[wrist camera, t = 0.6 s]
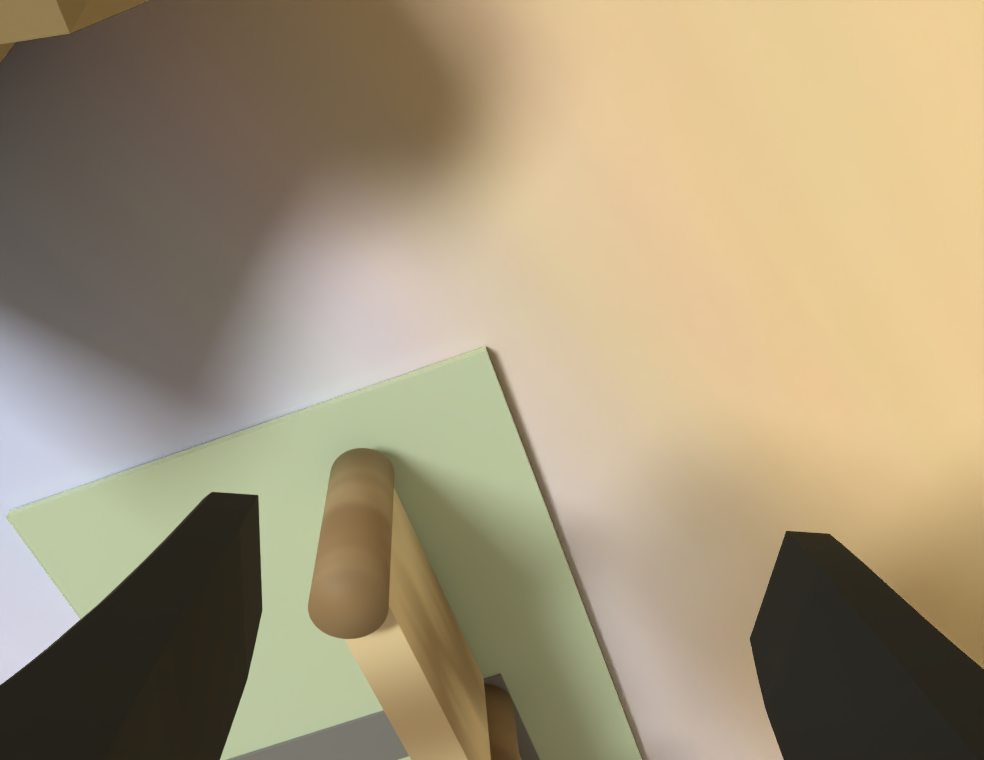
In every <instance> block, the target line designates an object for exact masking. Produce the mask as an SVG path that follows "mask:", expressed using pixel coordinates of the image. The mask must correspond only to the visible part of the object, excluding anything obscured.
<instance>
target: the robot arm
mask: <svg viewBox="0 0 984 760" xmlns="http://www.w3.org/2000/svg"><path fill="white" fill-rule="evenodd" d="M261 614H262V582H261V554H260V526H259V497H258V495H252V494H237V493H222V492H211V493H210V494H208V495H207V496H206V497H205V498H203V499H202V501H201V502H200V503H199V504H198V505H197V506H196V507H195V508H194V509H193V510H192V511H191V512H190V513H189V514H188V516H187V517H186V518H185V519H184V520H183V521H182V522H181V523H180V524H179V525H178V526H177V527H176V528H175V529H174V530H173V531H172V532H171V533H170V535H169V536H168V537H167V538H166V539H165V540H164V541H163V542H162V543H161V544H160V545H159V546H158V547H157V548H156V549H155V550H154V551H153V552H152V553H151V554H150V555H149V556H148V557H147V558H146V559H145V560H144V561H143V562H142V563H141V564H140V565H139V566H138V567H137V568H136V569H135V570H134V571H133V572H132V573H131V574H129V575H128V576H127V577H126V578H125V579H124V580H123V581H122V582H121V583H120V584H119V585H118V586H117V587H116V588H115V589H114V590H113V591H112V592H111V593H110V594H109V595H108V596H107V597H105V598H104V599H103V600H102V601H101V602H100V603H99V604H98V605H97V606H96V607H94V608H93V609H92V610H91V611H90V612H89V613H88V614H86V615H85V616H84V617H83V618H82V619H81V620H79V621H78V622H77V623H76V624H75V625H74V626H73V627H71V628H70V629H69V630H68V631H67V632H66V633H65V634H63V635H62V636H61V637H60V638H59V639H58V640H57V641H55V642H54V643H53V644H52V645H51V646H49V647H48V648H47V649H46V650H45V651H43V652H42V653H41V654H40V655H38V656H37V657H36V658H35V659H33V660H32V661H31V662H30V663H29V664H27V665H26V666H25V667H23V668H22V669H21V670H20V671H18V672H17V673H16V674H14V675H13V676H12V677H11V678H9V679H8V680H7V681H5V682H4V683H3V684H1V685H0V760H220V758H221V755H222V752H223V749H224V747H225V744H226V741H227V738H228V735H229V732H230V729H231V726H232V723H233V720H234V718H235V715H236V712H237V709H238V706H239V703H240V700H241V697H242V694H243V691H244V688H245V685H246V682H247V679H248V674H249V670H250V665H251V661H252V657H253V652H254V648H255V643H256V638H257V633H258V629H259V624H260V619H261ZM750 642H751V646H752V651H753V656H754V661H755V666H756V670H757V675H758V680H759V684H760V688H761V692H762V696H763V700H764V704H765V708H766V711H767V714H768V717H769V720H770V723H771V726H772V728H773V731H774V734H775V737H776V739H777V742H778V745H779V748H780V750H781V753H782V756H783V759H784V760H984V669H982V668H981V667H980V666H979V665H978V664H977V663H975V662H974V661H973V660H972V659H971V658H969V657H968V656H967V655H966V654H965V653H964V652H962V651H961V650H960V649H959V648H958V647H957V646H955V645H954V644H953V643H952V642H951V641H950V640H948V639H947V638H946V637H945V636H944V635H943V634H942V633H940V632H939V631H938V630H937V629H936V628H935V627H934V626H933V625H931V624H930V623H929V622H928V621H927V620H926V619H925V618H924V617H922V616H921V615H920V614H919V613H918V612H917V611H916V610H915V609H913V608H912V607H911V606H910V605H909V604H908V603H907V602H906V601H905V600H904V599H902V598H901V597H900V596H899V595H898V594H897V593H896V592H895V591H894V590H893V589H891V588H890V587H889V586H888V585H887V584H886V583H885V582H884V581H883V580H882V579H880V578H879V577H878V576H877V575H876V574H875V573H874V572H873V571H872V570H870V569H869V568H868V567H867V566H866V565H865V564H864V563H863V562H862V561H860V560H859V559H858V558H857V557H856V556H855V555H854V554H853V553H851V552H850V551H849V550H848V549H847V548H846V547H845V546H843V545H842V544H841V543H840V542H839V541H837V540H836V539H835V538H834V537H832V536H831V535H830V534H822V533H808V532H793V531H786V534H785V537H784V540H783V543H782V545H781V548H780V551H779V554H778V557H777V560H776V563H775V566H774V569H773V572H772V575H771V578H770V581H769V584H768V587H767V590H766V593H765V596H764V599H763V602H762V605H761V608H760V611H759V613H758V616H757V619H756V622H755V625H754V628H753V631H752V634H751V637H750Z"/></svg>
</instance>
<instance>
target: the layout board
mask: <svg viewBox="0 0 984 760" xmlns="http://www.w3.org/2000/svg"><path fill="white" fill-rule="evenodd" d="M356 448H368V449H372V450H375V451H378V452H380V453H381V454H383V455H384V456H385V457H386V458H387V459H388V460H389V461H390V462H391V464H392V466H393V469H394V489H395V491H396V493H397V495H398V497H399V499H400V501H401V504H402V506H403V508H404V510H405V512H406V514H407V516H408V518H409V521H410V523H411V525H412V527H413V529H414V531H415V533H416V535H417V538H418V540H419V542H420V544H421V546H422V548H423V550H424V552H425V555H426V557H427V559H428V561H429V563H430V565H431V567H432V569H433V572H434V574H435V576H436V578H437V580H438V582H439V584H440V586H441V589H442V591H443V593H444V595H445V597H446V599H447V601H448V603H449V606H450V608H451V610H452V612H453V614H454V616H455V618H456V620H457V623H458V625H459V627H460V629H461V631H462V633H463V635H464V637H465V640H466V642H467V644H468V646H469V648H470V650H471V652H472V654H473V657H474V659H475V661H476V663H477V665H478V667H479V669H480V671H481V674H482V676H483V678H484V684H491V685H495V686H497V687H500V688H502V689H503V690H505V691H506V692H507V693H508V694H509V695H510V697H511V699H512V702H513V708H514V715H515V723H516V731H517V739H518V747H519V754H520V756H521V759H522V760H642V757H641V755H640V752H639V749H638V747H637V744H636V742H635V739H634V736H633V734H632V731H631V728H630V726H629V723H628V720H627V718H626V715H625V713H624V710H623V707H622V705H621V702H620V699H619V697H618V694H617V691H616V689H615V686H614V684H613V681H612V678H611V676H610V673H609V670H608V668H607V665H606V662H605V660H604V657H603V655H602V652H601V649H600V647H599V644H598V641H597V639H596V636H595V633H594V631H593V628H592V626H591V623H590V620H589V618H588V615H587V612H586V610H585V607H584V604H583V602H582V599H581V597H580V594H579V591H578V589H577V586H576V583H575V581H574V578H573V575H572V573H571V570H570V568H569V565H568V562H567V560H566V557H565V554H564V552H563V549H562V546H561V544H560V541H559V539H558V536H557V533H556V531H555V528H554V525H553V523H552V520H551V517H550V515H549V512H548V510H547V507H546V504H545V502H544V499H543V496H542V494H541V491H540V488H539V486H538V483H537V481H536V478H535V475H534V473H533V470H532V467H531V465H530V462H529V459H528V457H527V454H526V452H525V449H524V446H523V444H522V441H521V438H520V436H519V433H518V430H517V428H516V425H515V423H514V420H513V417H512V415H511V412H510V409H509V407H508V404H507V401H506V399H505V396H504V394H503V391H502V388H501V386H500V383H499V380H498V378H497V375H496V372H495V370H494V367H493V365H492V362H491V359H490V357H489V354H488V351H487V349H486V346H485V347H482V348H479V349H476V350H473V351H471V352H468V353H465V354H462V355H459V356H456V357H453V358H450V359H447V360H444V361H442V362H439V363H436V364H433V365H430V366H427V367H424V368H421V369H418V370H416V371H413V372H410V373H407V374H404V375H401V376H398V377H395V378H392V379H389V380H387V381H384V382H381V383H378V384H375V385H372V386H369V387H366V388H363V389H360V390H358V391H355V392H352V393H349V394H346V395H343V396H340V397H337V398H334V399H331V400H329V401H326V402H323V403H320V404H317V405H314V406H311V407H308V408H305V409H302V410H300V411H297V412H294V413H291V414H288V415H285V416H282V417H279V418H276V419H273V420H271V421H268V422H265V423H262V424H259V425H256V426H253V427H250V428H247V429H245V430H242V431H239V432H236V433H233V434H230V435H227V436H224V437H221V438H218V439H216V440H213V441H210V442H207V443H204V444H201V445H198V446H195V447H192V448H189V449H187V450H184V451H181V452H178V453H175V454H172V455H169V456H166V457H163V458H160V459H158V460H155V461H152V462H149V463H146V464H143V465H140V466H137V467H134V468H131V469H129V470H126V471H123V472H120V473H117V474H114V475H111V476H108V477H105V478H103V479H100V480H97V481H94V482H91V483H88V484H85V485H82V486H79V487H76V488H74V489H71V490H68V491H65V492H62V493H59V494H56V495H53V496H50V497H47V498H45V499H42V500H39V501H36V502H33V503H30V504H27V505H24V506H21V507H18V508H16V509H13V510H10V512H9V513H8V515H7V516H6V518H7V519H8V521H9V522H10V523H11V525H12V526H13V527H14V529H15V530H16V532H17V533H18V534H19V536H20V537H21V538H22V540H23V541H24V543H25V544H26V545H27V547H28V548H29V549H30V551H31V552H32V553H33V555H34V556H35V558H36V559H37V560H38V562H39V563H40V564H41V566H42V567H43V569H44V570H45V571H46V573H47V574H48V575H49V577H50V578H51V580H52V581H53V582H54V584H55V585H56V586H57V588H58V589H59V591H60V592H61V593H62V595H63V596H64V597H65V599H66V600H67V602H68V603H69V604H70V606H71V607H72V608H73V610H74V611H75V613H76V614H77V615H78V617H79V618H80V619H82V618H83V617H84V616H85V615H86V614H88V613H89V612H90V611H91V610H92V609H93V608H94V607H96V606H97V605H98V604H99V603H100V602H101V601H102V600H103V599H104V598H105V597H107V596H108V595H109V594H110V593H111V592H112V591H113V590H114V589H115V588H116V587H117V586H118V585H119V584H120V583H121V582H122V581H123V580H124V579H125V578H126V577H127V576H128V575H129V574H131V573H132V572H133V571H134V570H135V569H136V568H137V567H138V566H139V565H140V564H141V563H142V562H143V561H144V560H145V559H146V558H147V557H148V556H149V555H150V554H151V553H152V552H153V551H154V550H155V549H156V548H157V547H158V546H159V545H160V544H161V543H162V542H163V541H164V540H165V539H166V538H167V537H168V536H169V535H170V533H171V532H172V531H173V530H174V529H175V528H176V527H177V526H178V525H179V524H180V523H181V522H182V521H183V520H184V519H185V518H186V517H187V516H188V514H189V513H190V512H191V511H192V510H193V509H194V508H195V507H196V506H197V505H198V504H199V503H200V502H201V501H202V499H203V498H205V497H206V496H207V495H208V494H210V493H211V492H222V493H237V494H252V495H258V497H259V526H260V554H261V582H262V614H261V619H260V624H259V629H258V633H257V638H256V643H255V648H254V652H253V657H252V661H251V665H250V670H249V674H248V679H247V682H246V685H245V688H244V691H243V694H242V697H241V700H240V703H239V706H238V709H237V712H236V715H235V718H234V720H233V723H232V726H231V729H230V732H229V735H228V738H227V741H226V744H225V747H224V749H223V752H222V755H221V758H220V760H411V759H410V757H409V755H408V753H407V751H406V750H405V748H404V746H403V744H402V742H401V741H400V739H399V737H398V735H397V733H396V732H395V730H394V728H393V726H392V724H391V723H390V721H389V719H388V717H387V715H386V714H385V712H384V710H383V708H382V706H381V705H380V703H379V701H378V699H377V697H376V696H375V694H374V692H373V690H372V688H371V687H370V685H369V683H368V681H367V679H366V677H365V676H364V674H363V672H362V670H361V668H360V667H359V665H358V663H357V661H356V659H355V658H354V656H353V654H352V652H351V650H350V649H349V647H348V645H347V643H346V641H345V640H344V639H341V638H336V637H332V636H330V635H327V634H326V633H324V632H322V631H321V630H319V629H318V628H317V627H316V626H315V625H314V624H313V622H312V621H311V619H310V616H309V613H308V601H309V596H310V590H311V584H312V578H313V572H314V566H315V560H316V554H317V548H318V542H319V536H320V531H321V525H322V519H323V513H324V507H325V501H326V495H327V489H328V483H329V477H330V471H331V467H332V465H333V463H334V461H335V460H336V459H337V458H338V457H339V456H340V455H341V454H343V453H344V452H346V451H348V450H351V449H356Z"/></svg>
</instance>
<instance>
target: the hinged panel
mask: <svg viewBox="0 0 984 760" xmlns="http://www.w3.org/2000/svg"><path fill="white" fill-rule="evenodd" d="M308 613H309V616H310V619H311V621H312V622H313V624H314V625H315V626H316V627H317V628H318V629H319V630H321V631H322V632H324V633H326V634H327V635H330V636H332V637H336V638H341V639H344V640H345V641H346V643H347V645H348V647H349V649H350V650H351V652H352V654H353V656H354V658H355V659H356V661H357V663H358V665H359V667H360V668H361V670H362V672H363V674H364V676H365V677H366V679H367V681H368V683H369V685H370V687H371V688H372V690H373V692H374V694H375V696H376V697H377V699H378V701H379V703H380V705H381V706H382V708H383V710H384V712H385V714H386V715H387V717H388V719H389V721H390V723H391V724H392V726H393V728H394V730H395V732H396V733H397V735H398V737H399V739H400V741H401V742H402V744H403V746H404V748H405V750H406V751H407V753H408V755H409V757H410V759H411V760H491V754H490V743H489V732H488V721H487V710H486V699H485V688H484V678H483V676H482V674H481V671H480V669H479V667H478V665H477V663H476V661H475V659H474V657H473V654H472V652H471V650H470V648H469V646H468V644H467V642H466V640H465V637H464V635H463V633H462V631H461V629H460V627H459V625H458V623H457V620H456V618H455V616H454V614H453V612H452V610H451V608H450V606H449V603H448V601H447V599H446V597H445V595H444V593H443V591H442V589H441V586H440V584H439V582H438V580H437V578H436V576H435V574H434V572H433V569H432V567H431V565H430V563H429V561H428V559H427V557H426V555H425V552H424V550H423V548H422V546H421V544H420V542H419V540H418V538H417V535H416V533H415V531H414V529H413V527H412V525H411V523H410V521H409V518H408V516H407V514H406V512H405V510H404V508H403V506H402V504H401V501H400V499H399V497H398V495H397V493H396V491H395V489H394V469H393V466H392V464H391V462H390V461H389V460H388V459H387V458H386V457H385V456H384V455H383V454H381V453H380V452H378V451H375V450H372V449H368V448H356V449H351V450H348V451H346V452H344V453H343V454H341V455H340V456H339V457H338V458H337V459H336V460H335V461H334V463H333V465H332V467H331V471H330V477H329V483H328V489H327V495H326V501H325V507H324V513H323V519H322V525H321V531H320V536H319V542H318V548H317V554H316V560H315V566H314V572H313V578H312V584H311V590H310V596H309V601H308Z"/></svg>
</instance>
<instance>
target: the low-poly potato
mask: <svg viewBox="0 0 984 760" xmlns="http://www.w3.org/2000/svg"><path fill="white" fill-rule="evenodd" d="M147 1H149V0H0V62H1V61H2V60H3V58H4V57H5V56H6V55H7V53H8V52H9V51H10V49H11V48H12V47H13V45H14V44H15V43H16V42H19V41H26V40H32V39H39V38H45V37H52V36H58V35H65V34H71V33H73V32H75V31H78V30H80V29H82V28H85V27H87V26H90V25H92V24H94V23H97V22H99V21H102V20H104V19H106V18H109V17H111V16H113V15H116V14H118V13H121V12H123V11H125V10H128V9H130V8H133V7H135V6H137V5H140V4H142V3H144V2H147Z"/></svg>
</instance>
